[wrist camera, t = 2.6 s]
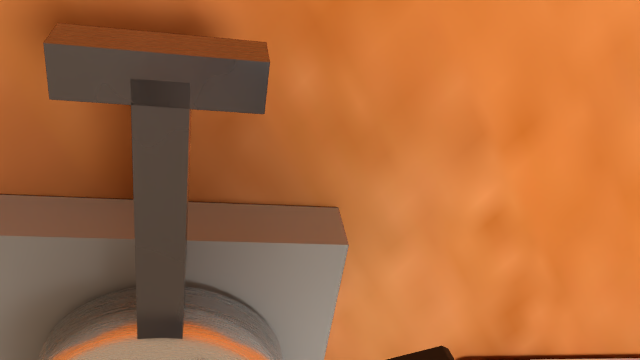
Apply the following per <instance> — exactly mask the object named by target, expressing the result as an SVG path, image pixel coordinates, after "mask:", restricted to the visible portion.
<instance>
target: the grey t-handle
mask: <svg viewBox="0 0 640 360" xmlns="http://www.w3.org/2000/svg"><path fill="white" fill-rule="evenodd" d="M43 44H44V53H45V62H46V72H47V81H48V91H49V99H51V100H66V101H80V102H95V103H109V104H124V105H131V122H132V159H133V196H134V233H135V270H136V287H135V288H129V289H125V290H120V291H116V292H112V293H109V294H106V295H104V296H101V297H98V298H96V299H94V300H91V301H89V302H87V303H85V304H83V305H81V306H80V307H78V308H77V309H75V310H74V311H72V312H70V313H69V314H68V315H67V316H66V317H64V318H63V319H62V320H61V321H60V322H59V323H58V324H57V325H56V326H55V327H54V328H53V330H52V331H51V332H50V333H49V335H48V337H47V338H46V340H45V342H44V344H43V347H42V349H41V352H40V355H39V358H38V360H283V356H282V350H281V347H280V344H279V341H278V339H277V337H276V336H275V334H274V332H273V331H272V329H271V328H270V327H269V326H268V324H267V323H266V322H265V321H264V320H263V319H262V318H261V317H260V316H259V315H257V314H256V313H255V312H254V311H252V310H251V309H249V308H248V307H246V306H245V305H243V304H241V303H239V302H237V301H235V300H233V299H231V298H229V297H226V296H223V295H221V294H218V293H215V292H211V291H207V290H203V289H199V288H192V287H186V256H187V225H188V194H189V164H190V133H191V109H197V110H211V111H226V112H240V113H255V114H265V104H266V95H267V85H268V76H269V66H270V60H269V55H268V49H267V43H266V42H258V41H247V40H236V39H225V38H215V37H204V36H193V35H182V34H171V33H161V32H150V31H139V30H128V29H117V28H106V27H96V26H85V25H74V24H63V23H57V25H56V26H55V28H54V29H53V30H52V32H51V33H50V34H49V36H48V37H47V39H46V40H45V41H44V43H43Z"/></svg>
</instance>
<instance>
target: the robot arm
mask: <svg viewBox="0 0 640 360" xmlns="http://www.w3.org/2000/svg"><path fill="white" fill-rule="evenodd" d="M387 360H454V358H453V356H452V355H451V353H450V351H449V349H448V348H446V347H443V346H439V347H435V348H431V349H427V350H423V351H419V352H415V353H411V354H407V355H403V356H399V357H395V358H391V359H387ZM532 360H640V358H609V359H532Z"/></svg>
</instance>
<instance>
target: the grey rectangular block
mask: <svg viewBox="0 0 640 360" xmlns="http://www.w3.org/2000/svg"><path fill="white" fill-rule="evenodd" d="M348 246H349V244H348V241H347V237H346V233H345V230H344V226H343V223H342V219H341V216H340V212H339V209H338V208H333V207H308V206H282V205H256V204H231V203H205V202H188V225H187V256H186V287H192V288H199V289H203V290H207V291H211V292H215V293H218V294H221V295H223V296H226V297H229V298H231V299H233V300H235V301H237V302H239V303H241V304H243V305H245V306H246V307H248V308H249V309H251V310H252V311H254V312H255V313H256V314H257V315H259V316H260V317H261V318H262V319H263V320H264V321H265V322H266V323H267V324H268V326H269V327H270V328H271V329H272V331H273V332H274V334H275V336H276V337H277V339H278V341H279V344H280V347H281V350H282V356H283V360H324V357H325V352H326V347H327V343H328V338H329V333H330V329H331V324H332V320H333V315H334V310H335V306H336V301H337V297H338V292H339V287H340V283H341V278H342V274H343V269H344V264H345V260H346V255H347V251H348ZM135 287H136V270H135V233H134V200H128V199H103V198H77V197H51V196H26V195H0V360H38V358H39V355H40V352H41V349H42V347H43V344H44V342H45V340H46V338H47V337H48V335H49V333H50V332H51V331H52V330H53V328H54V327H55V326H56V325H57V324H58V323H59V322H60V321H61V320H62V319H63V318H64V317H66V316H67V315H68V314H69V313H70V312H72V311H74V310H75V309H77V308H78V307H80V306H81V305H83V304H85V303H87V302H89V301H91V300H94V299H96V298H98V297H101V296H104V295H106V294H109V293H112V292H116V291H120V290H125V289H129V288H135Z"/></svg>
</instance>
